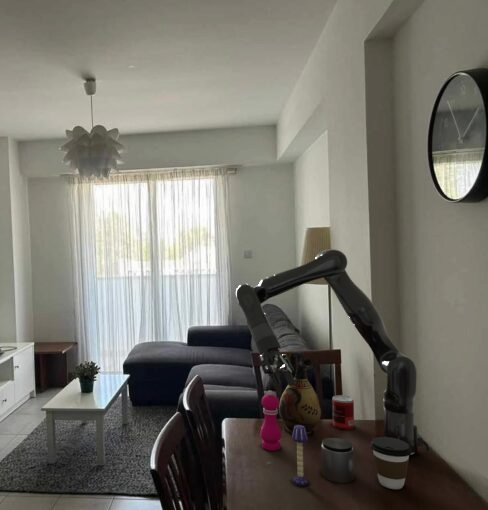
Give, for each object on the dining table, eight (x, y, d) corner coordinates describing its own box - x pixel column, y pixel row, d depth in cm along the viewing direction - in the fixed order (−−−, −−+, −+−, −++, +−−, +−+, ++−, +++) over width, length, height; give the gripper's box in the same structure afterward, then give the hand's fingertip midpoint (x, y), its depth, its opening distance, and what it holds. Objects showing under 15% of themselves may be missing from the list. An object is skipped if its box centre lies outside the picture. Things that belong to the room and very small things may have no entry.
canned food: (353, 423, 184) (352, 396, 184) (355, 430, 177) (354, 402, 177) (332, 421, 187) (332, 394, 187) (333, 428, 179) (333, 400, 179)
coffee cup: (411, 497, 129) (410, 454, 129) (368, 487, 135) (367, 446, 135) (413, 480, 138) (412, 440, 138) (372, 472, 144) (372, 433, 144)
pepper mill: (279, 443, 167) (278, 387, 167) (283, 451, 160) (282, 393, 160) (259, 442, 168) (258, 387, 168) (262, 451, 160) (261, 393, 160)
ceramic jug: (330, 435, 173) (328, 355, 173) (293, 440, 169) (291, 358, 169) (304, 420, 189) (302, 346, 189) (269, 424, 185) (268, 349, 185)
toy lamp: (290, 478, 140) (289, 423, 140) (304, 478, 141) (304, 423, 141) (296, 486, 136) (295, 429, 136) (311, 485, 136) (310, 429, 136)
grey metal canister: (348, 469, 146) (347, 437, 146) (357, 483, 137) (357, 449, 137) (318, 468, 147) (318, 437, 147) (326, 482, 138) (325, 448, 138)
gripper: (261, 333, 149) (282, 381, 141) (285, 334, 159) (306, 380, 151) (244, 343, 154) (264, 390, 146) (268, 344, 163) (288, 388, 155)
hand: (285, 385), depth 148 cm, fingers open, 8 cm apart
